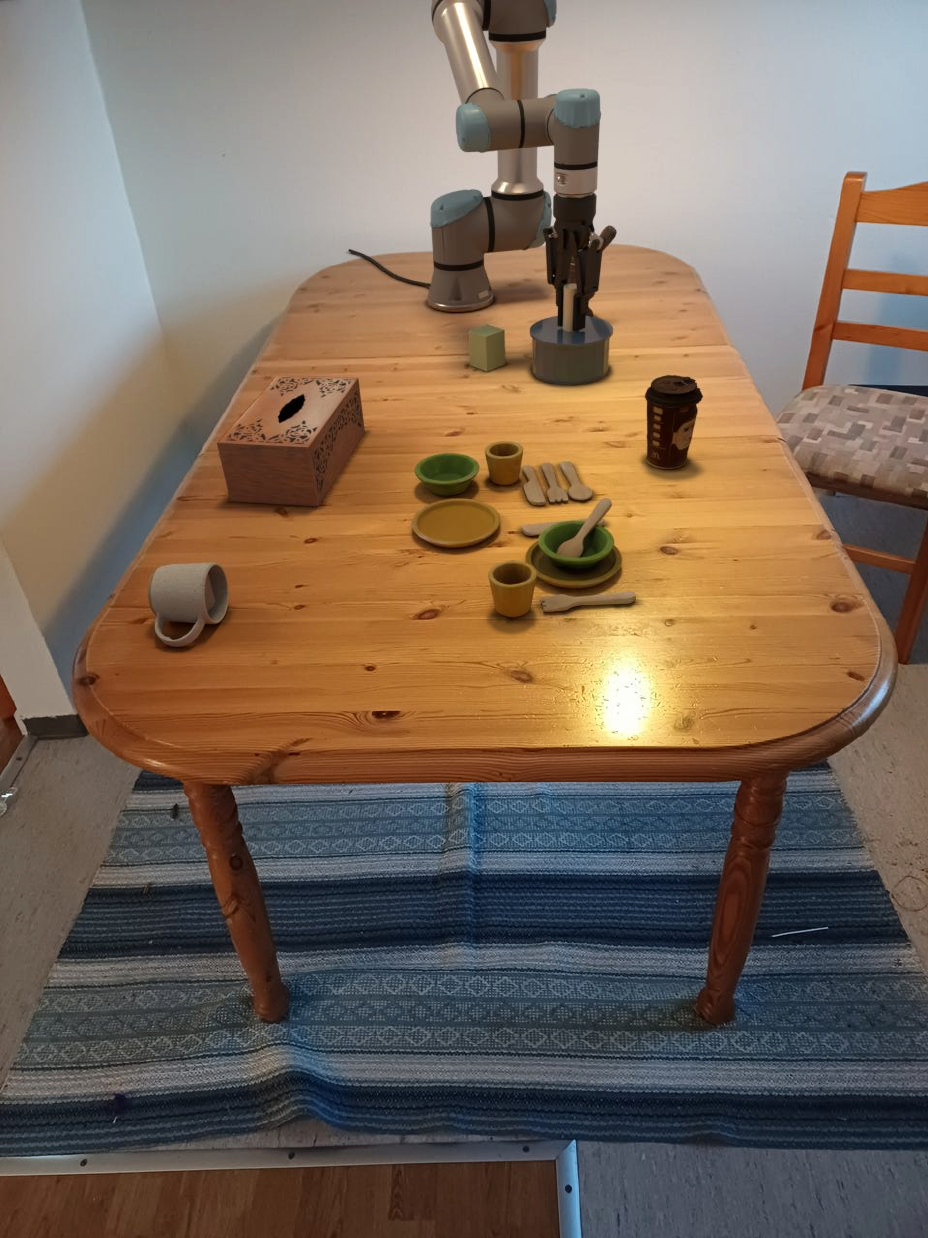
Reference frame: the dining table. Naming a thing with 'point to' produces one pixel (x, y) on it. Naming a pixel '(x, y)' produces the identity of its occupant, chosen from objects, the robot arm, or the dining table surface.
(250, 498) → the tissue box cover
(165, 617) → the ceramic mug
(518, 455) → the tableware set
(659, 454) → the coffee cup
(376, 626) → the dining table surface
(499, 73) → the robot arm
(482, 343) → the block
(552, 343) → the bowl lid
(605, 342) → the bowl
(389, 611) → the dining table surface
